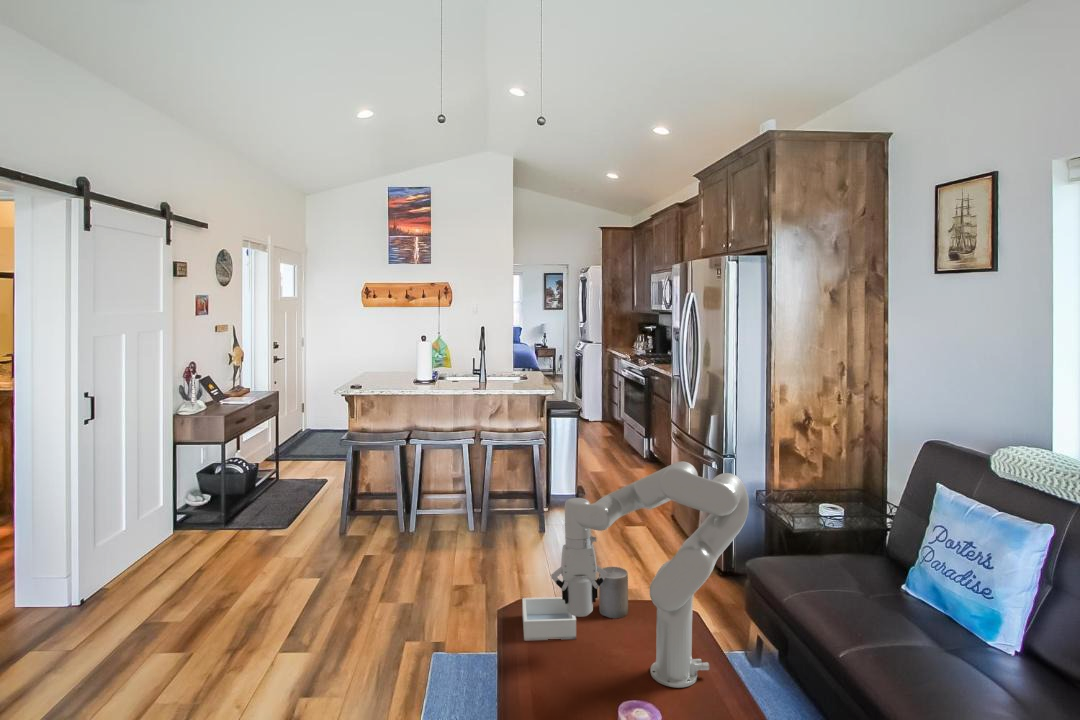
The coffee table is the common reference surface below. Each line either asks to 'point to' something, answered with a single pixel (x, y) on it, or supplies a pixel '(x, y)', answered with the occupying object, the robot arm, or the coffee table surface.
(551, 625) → the walled box
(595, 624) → the coffee table surface
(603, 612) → the pillar candle
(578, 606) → the can
